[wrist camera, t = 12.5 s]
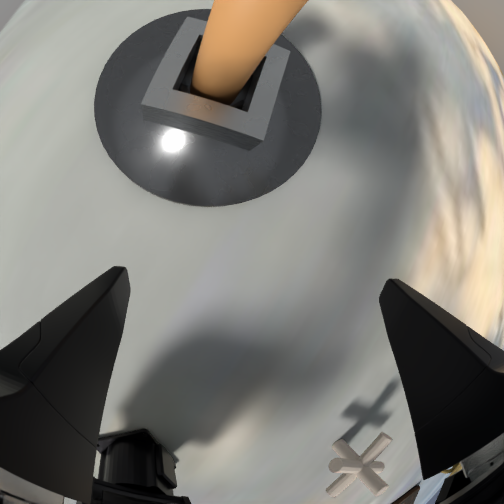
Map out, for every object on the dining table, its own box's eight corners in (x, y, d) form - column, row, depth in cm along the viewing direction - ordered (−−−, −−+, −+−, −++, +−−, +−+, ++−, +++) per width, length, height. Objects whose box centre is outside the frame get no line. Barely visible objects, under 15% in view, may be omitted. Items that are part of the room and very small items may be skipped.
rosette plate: (287, 234, 22) (312, 238, 18) (64, 175, 16) (43, 165, 12) (338, 11, 21) (357, -6, 17) (190, -42, 15) (196, -65, 12)
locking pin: (215, 118, 18) (284, 6, 6) (179, 89, 17) (209, -40, 5) (246, 90, 19) (333, -15, 7) (213, 62, 17) (268, -57, 6)
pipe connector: (340, 407, 26) (395, 458, 17) (380, 421, 29) (427, 458, 20) (287, 465, 26) (324, 521, 16) (335, 471, 29) (371, 513, 19)
